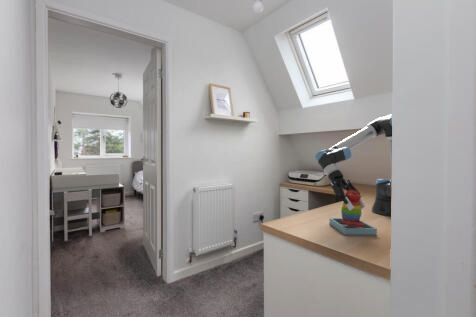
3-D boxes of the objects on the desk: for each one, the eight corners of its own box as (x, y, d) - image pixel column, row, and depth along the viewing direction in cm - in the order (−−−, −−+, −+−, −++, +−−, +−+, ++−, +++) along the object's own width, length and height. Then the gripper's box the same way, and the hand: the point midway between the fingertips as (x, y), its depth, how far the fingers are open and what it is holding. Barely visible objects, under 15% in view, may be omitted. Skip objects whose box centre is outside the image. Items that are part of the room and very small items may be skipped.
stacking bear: (366, 227, 115) (368, 192, 114) (346, 226, 115) (348, 191, 115) (355, 220, 126) (357, 188, 125) (337, 220, 126) (339, 188, 125)
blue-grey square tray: (357, 224, 129) (357, 218, 129) (376, 236, 112) (377, 229, 112) (329, 224, 129) (329, 218, 129) (344, 235, 112) (345, 228, 112)
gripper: (342, 176, 138) (366, 210, 124) (316, 178, 129) (338, 214, 115) (350, 169, 133) (376, 202, 119) (324, 169, 124) (348, 206, 110)
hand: (357, 208), depth 117 cm, fingers closed on stacking bear, 8 cm apart
